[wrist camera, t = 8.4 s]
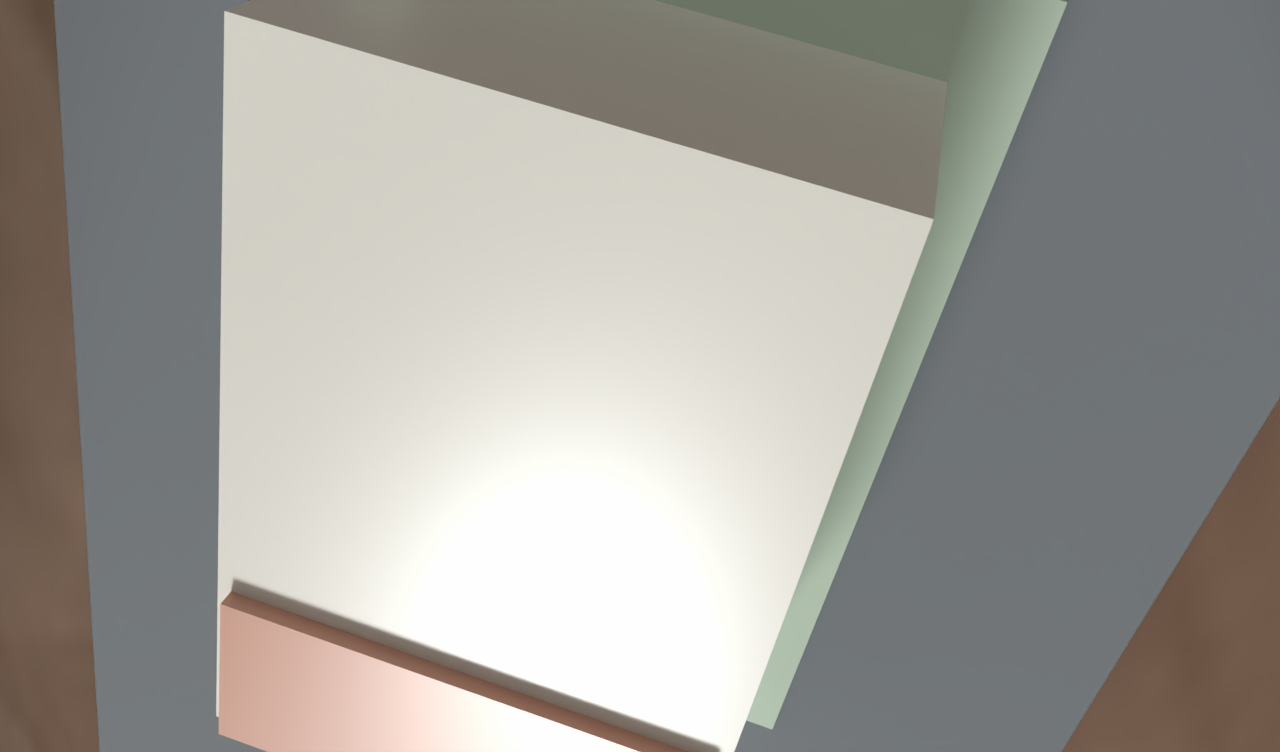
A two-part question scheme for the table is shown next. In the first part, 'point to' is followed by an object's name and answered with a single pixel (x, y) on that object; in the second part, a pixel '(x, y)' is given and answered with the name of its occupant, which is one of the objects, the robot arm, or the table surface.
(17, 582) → the table surface
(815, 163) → the card case
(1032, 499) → the shallow gray tray
